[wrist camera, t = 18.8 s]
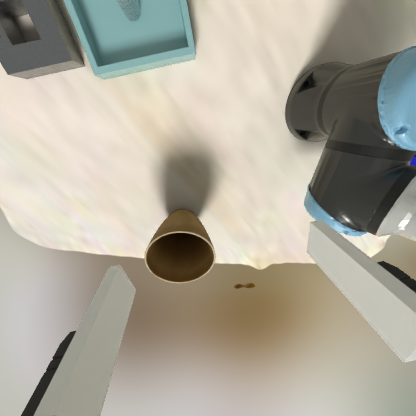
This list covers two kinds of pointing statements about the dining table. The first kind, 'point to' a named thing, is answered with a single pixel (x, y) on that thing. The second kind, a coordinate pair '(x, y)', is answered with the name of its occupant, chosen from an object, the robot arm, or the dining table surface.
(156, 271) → the plant pot
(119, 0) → the pin
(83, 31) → the tray
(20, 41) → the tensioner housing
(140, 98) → the dining table surface
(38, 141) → the dining table surface
